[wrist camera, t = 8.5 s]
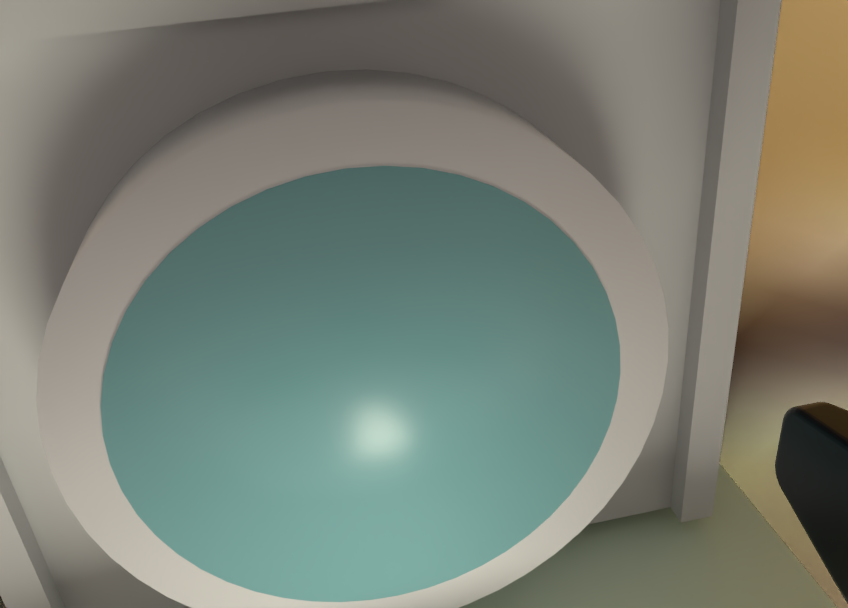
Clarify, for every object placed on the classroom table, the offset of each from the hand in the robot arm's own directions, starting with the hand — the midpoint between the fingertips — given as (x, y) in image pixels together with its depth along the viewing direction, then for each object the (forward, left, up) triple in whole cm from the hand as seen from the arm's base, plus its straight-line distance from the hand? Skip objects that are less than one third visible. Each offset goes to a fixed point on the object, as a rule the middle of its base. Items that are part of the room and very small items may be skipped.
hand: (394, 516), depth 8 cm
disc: (0, 0, -4) cm, 4 cm away
